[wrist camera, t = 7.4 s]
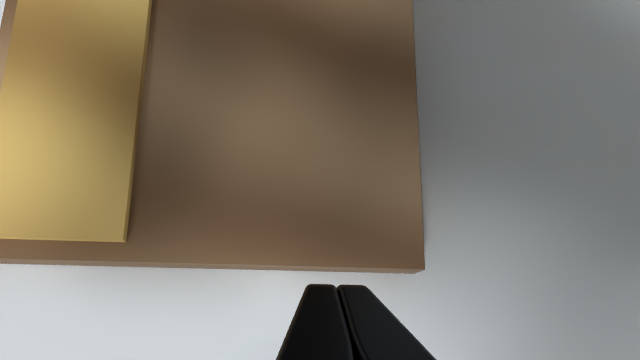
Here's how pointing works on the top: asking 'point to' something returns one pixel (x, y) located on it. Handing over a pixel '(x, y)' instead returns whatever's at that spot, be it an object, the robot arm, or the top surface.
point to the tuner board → (210, 135)
